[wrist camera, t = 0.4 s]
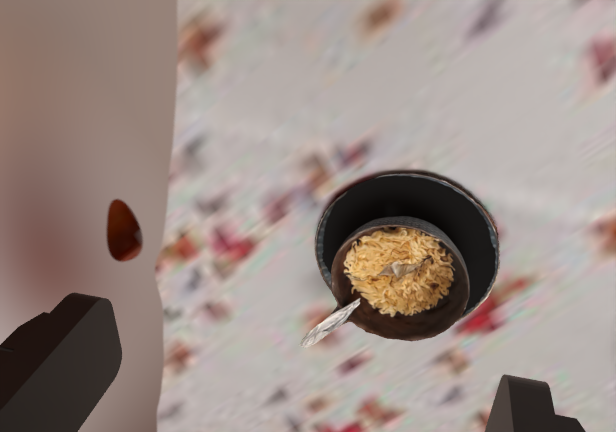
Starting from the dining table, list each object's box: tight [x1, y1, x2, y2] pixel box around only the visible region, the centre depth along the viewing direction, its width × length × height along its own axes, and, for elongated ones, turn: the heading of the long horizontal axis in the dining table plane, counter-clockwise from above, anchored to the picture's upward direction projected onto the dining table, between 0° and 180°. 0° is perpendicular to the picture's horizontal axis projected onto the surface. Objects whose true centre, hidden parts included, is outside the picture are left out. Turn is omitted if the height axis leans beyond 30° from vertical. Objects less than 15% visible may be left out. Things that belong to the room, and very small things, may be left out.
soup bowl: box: [299, 173, 500, 348], centre depth 42 cm, size 15×16×7 cm
